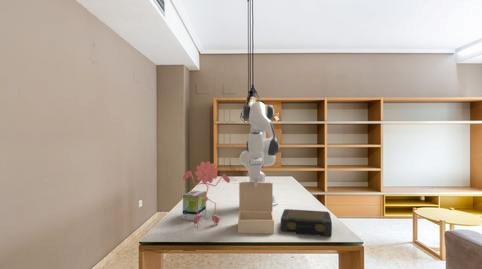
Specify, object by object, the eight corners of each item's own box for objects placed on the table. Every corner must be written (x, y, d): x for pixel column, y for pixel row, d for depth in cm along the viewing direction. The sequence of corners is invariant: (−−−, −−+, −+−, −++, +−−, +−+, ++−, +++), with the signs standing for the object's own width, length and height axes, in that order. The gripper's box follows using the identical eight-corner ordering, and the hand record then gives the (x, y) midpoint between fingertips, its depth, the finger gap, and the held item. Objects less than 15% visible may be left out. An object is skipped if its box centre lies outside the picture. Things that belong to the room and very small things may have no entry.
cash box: (329, 225, 157) (329, 211, 157) (332, 237, 137) (332, 221, 137) (284, 221, 163) (284, 208, 163) (280, 233, 143) (280, 218, 143)
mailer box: (272, 224, 156) (272, 212, 157) (274, 234, 140) (274, 220, 141) (239, 224, 157) (239, 211, 157) (238, 234, 141) (238, 220, 141)
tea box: (198, 220, 164) (198, 195, 164) (182, 219, 166) (182, 194, 166) (206, 213, 179) (206, 190, 179) (191, 213, 181) (191, 189, 181)
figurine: (230, 227, 151) (230, 162, 152) (181, 228, 149) (181, 162, 150) (229, 219, 167) (229, 160, 168) (184, 221, 164) (185, 160, 166)
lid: (272, 213, 155) (272, 211, 157) (272, 182, 154) (272, 181, 157) (239, 212, 156) (239, 211, 158) (239, 182, 155) (239, 181, 157)
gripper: (250, 160, 165) (250, 184, 164) (249, 161, 144) (249, 188, 143) (261, 160, 165) (261, 184, 163) (262, 161, 144) (262, 188, 143)
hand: (255, 186), depth 153 cm, fingers closed
